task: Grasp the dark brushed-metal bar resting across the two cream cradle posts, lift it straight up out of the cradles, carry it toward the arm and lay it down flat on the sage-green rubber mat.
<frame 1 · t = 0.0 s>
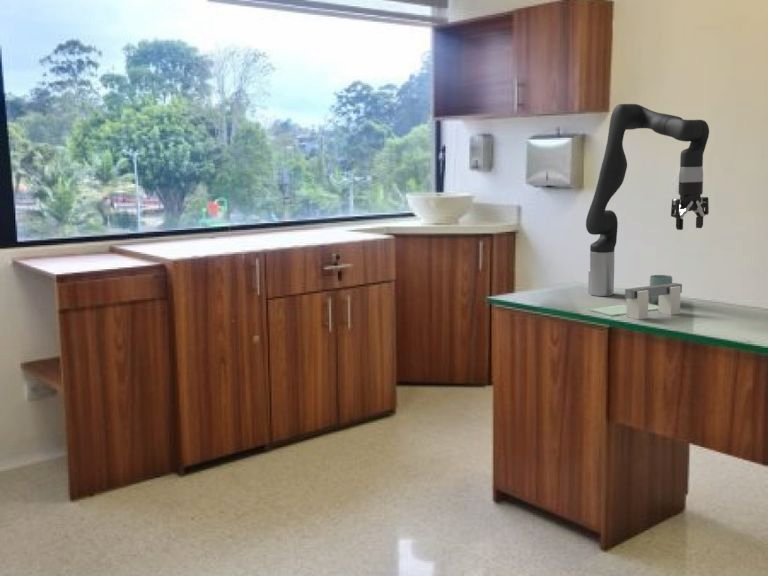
hand: (689, 228, 260), 29 cm above the table, fingers open, 8 cm apart
mat: (627, 309, 275), on the table
cup: (660, 303, 285), on the table
rack: (653, 315, 264), on the table
bar: (653, 295, 263), point 7 cm above the table, touching rack
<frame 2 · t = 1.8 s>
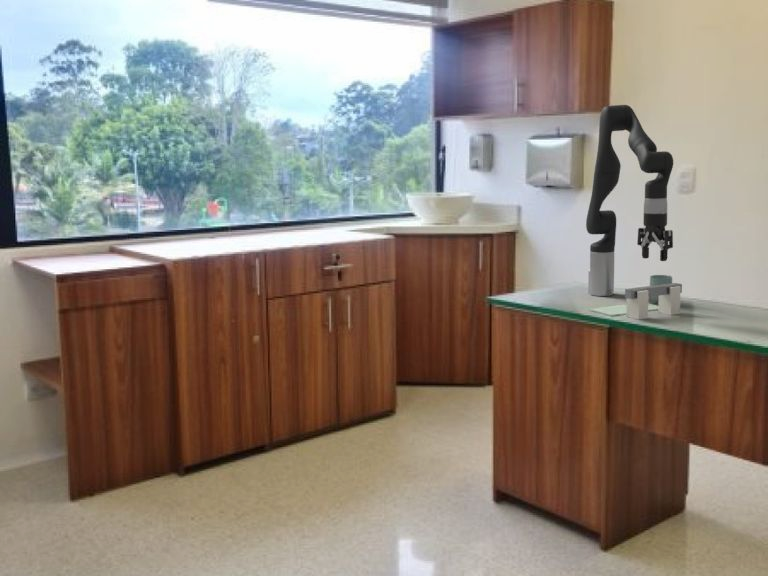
hand: (654, 259, 261), 19 cm above the table, fingers open, 8 cm apart
nothing on the table moved.
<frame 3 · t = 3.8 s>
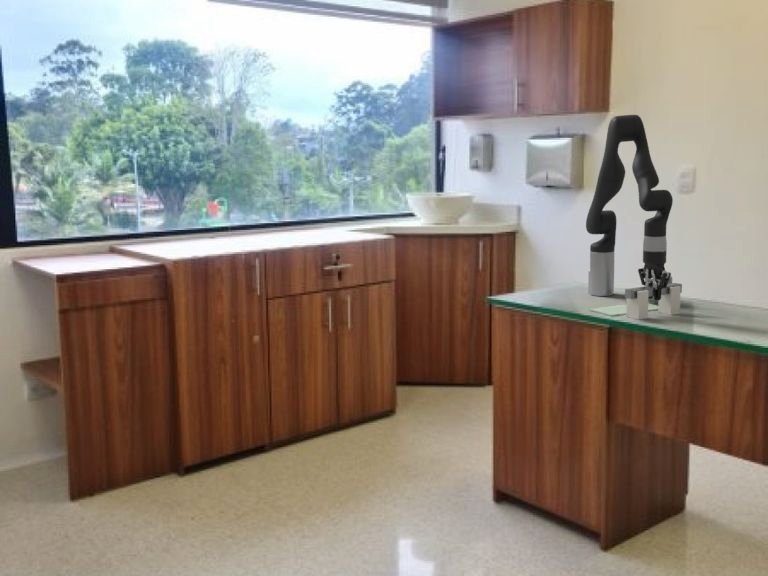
hand: (653, 299, 263), 6 cm above the table, fingers closed on bar, 3 cm apart
bar: (653, 295, 263), point 7 cm above the table, touching gripper, rack
everything else where it was.
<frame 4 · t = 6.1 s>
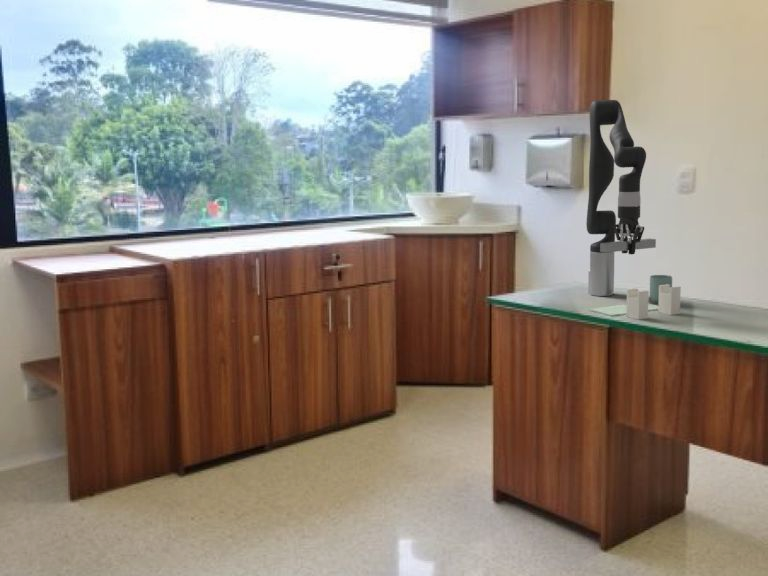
hand: (628, 253, 272), 20 cm above the table, fingers closed on bar, 3 cm apart
bar: (628, 249, 271), point 22 cm above the table, touching gripper
everything else where it was.
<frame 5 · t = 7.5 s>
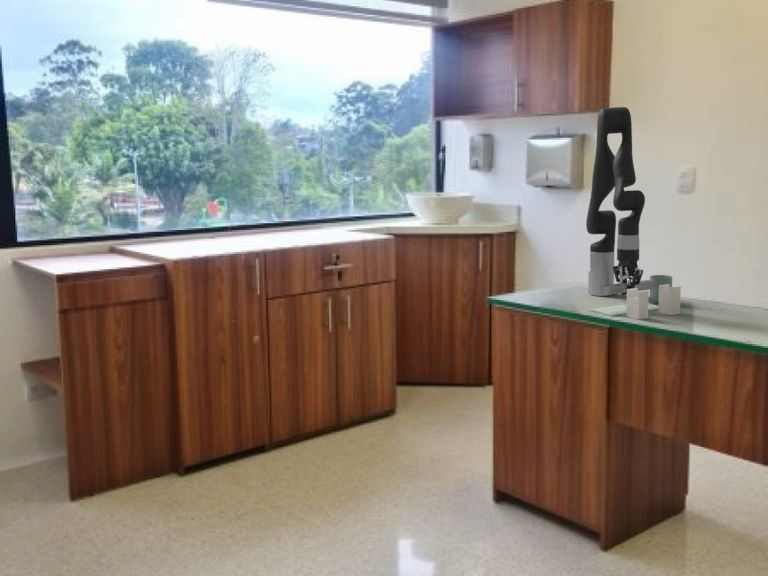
hand: (627, 295, 274), 5 cm above the table, fingers closed on bar, 3 cm apart
bar: (627, 291, 274), point 7 cm above the table, touching gripper
everything else where it was.
when the fingers open (1 cm above the table, at t = 8.5 s): bar drops 2 cm, resting on mat.
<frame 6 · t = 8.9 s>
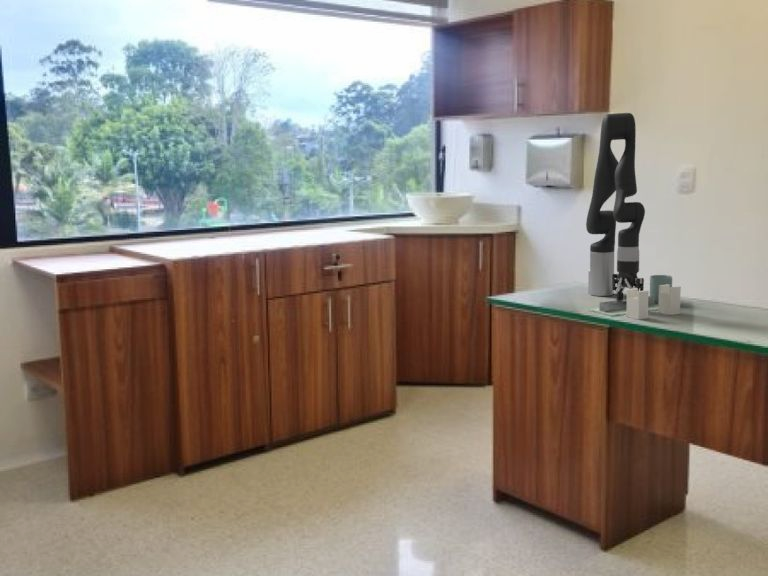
hand: (627, 304, 275), 2 cm above the table, fingers open, 7 cm apart
bar: (627, 308, 275), resting on mat
everything else where it was.
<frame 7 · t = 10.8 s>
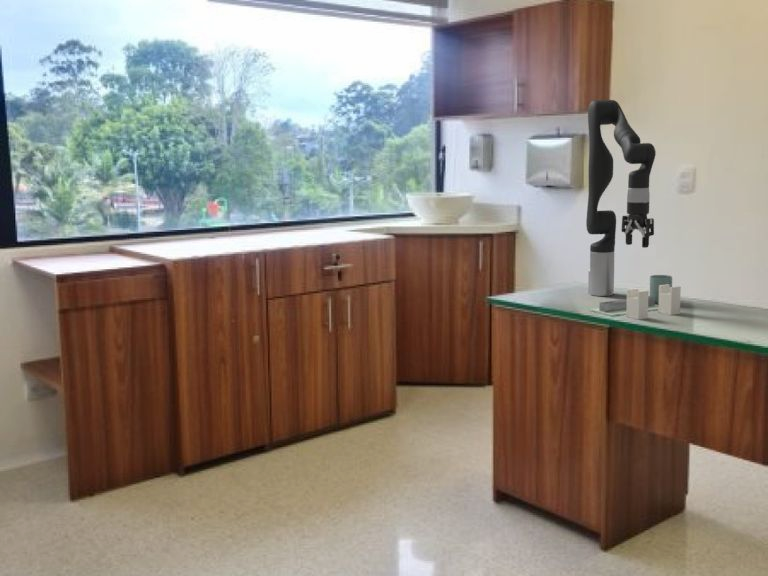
hand: (636, 246, 275), 22 cm above the table, fingers open, 8 cm apart
nothing on the table moved.
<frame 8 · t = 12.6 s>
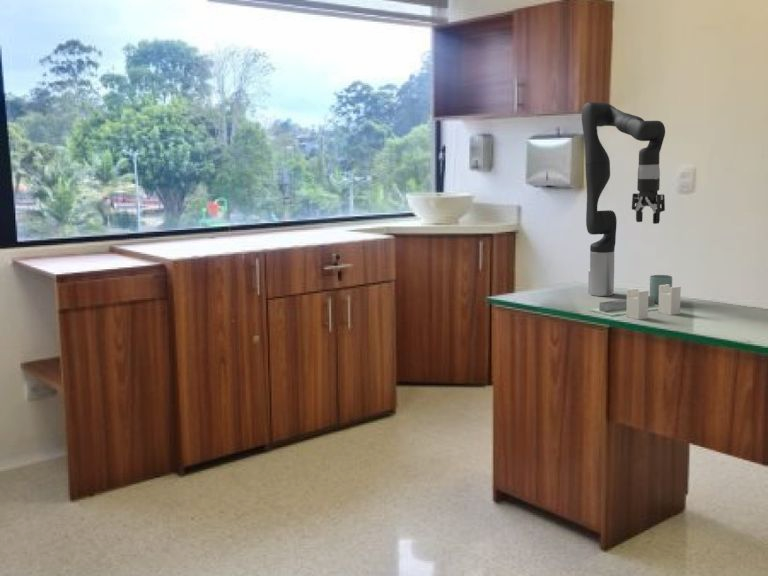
hand: (647, 222, 278), 30 cm above the table, fingers open, 8 cm apart
nothing on the table moved.
at the end: bar inside the target area on the mat (0.0 cm from its centre), point 0.5 cm above the mat's base; bar touching mat; the gripper is holding nothing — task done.
